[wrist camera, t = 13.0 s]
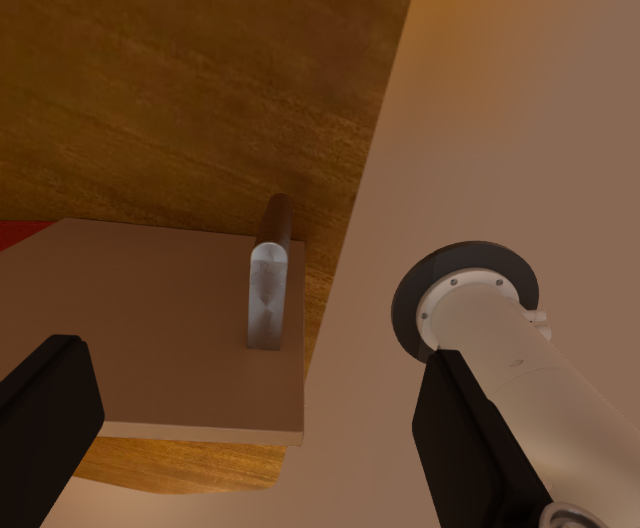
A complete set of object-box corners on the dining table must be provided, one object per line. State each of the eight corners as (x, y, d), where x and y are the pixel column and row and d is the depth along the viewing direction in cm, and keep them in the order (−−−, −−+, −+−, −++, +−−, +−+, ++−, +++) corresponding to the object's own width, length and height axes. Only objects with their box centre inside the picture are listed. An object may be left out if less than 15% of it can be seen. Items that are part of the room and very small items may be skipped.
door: (52, 144, 33) (-411, 241, 12) (312, 175, 35) (323, 304, 14) (67, 226, 36) (-270, 417, 15) (303, 250, 38) (302, 447, 17)
